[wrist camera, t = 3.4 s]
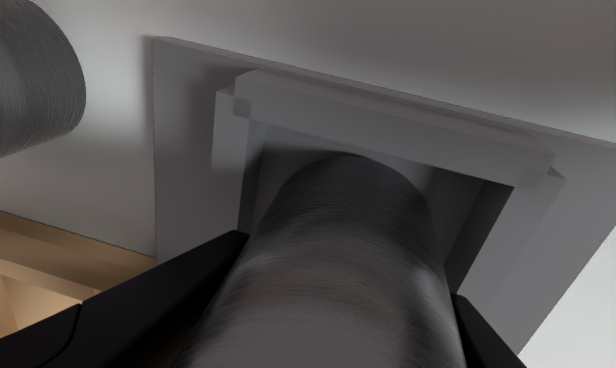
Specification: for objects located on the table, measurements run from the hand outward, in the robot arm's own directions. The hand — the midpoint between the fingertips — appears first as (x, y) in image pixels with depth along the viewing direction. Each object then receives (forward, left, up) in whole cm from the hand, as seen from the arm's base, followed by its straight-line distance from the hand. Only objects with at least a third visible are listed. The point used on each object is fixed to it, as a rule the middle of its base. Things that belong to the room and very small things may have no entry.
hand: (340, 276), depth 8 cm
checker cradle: (0, +1, -3) cm, 3 cm away
